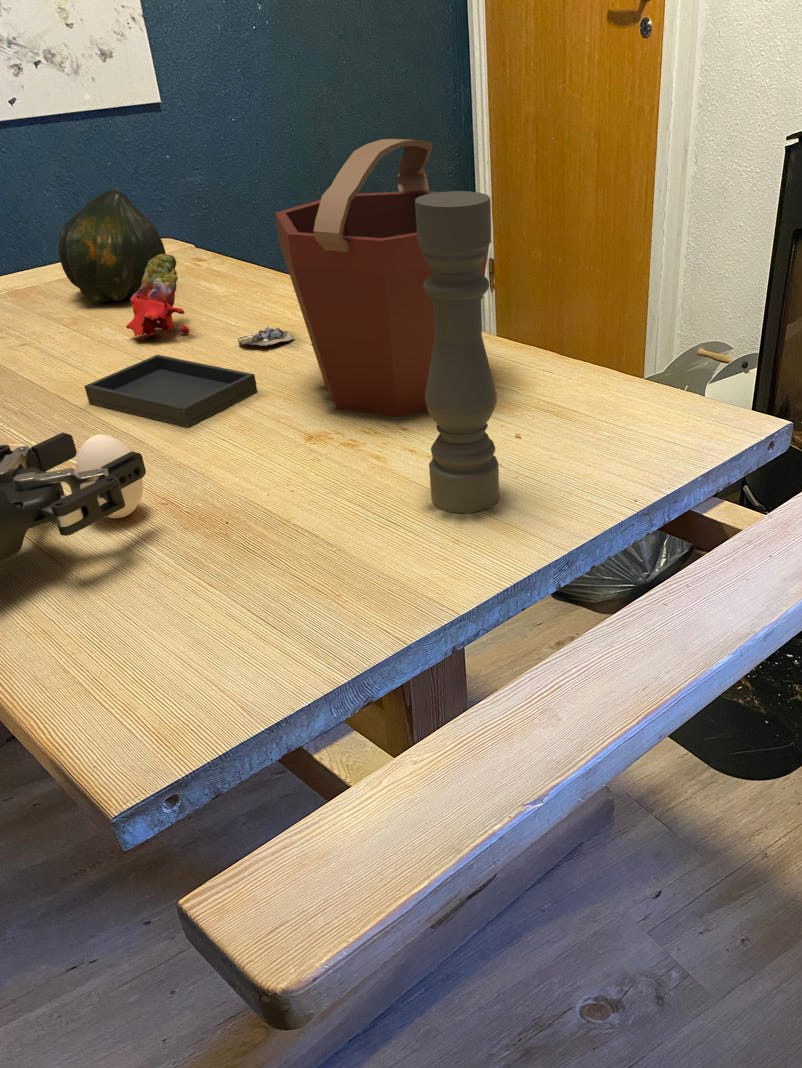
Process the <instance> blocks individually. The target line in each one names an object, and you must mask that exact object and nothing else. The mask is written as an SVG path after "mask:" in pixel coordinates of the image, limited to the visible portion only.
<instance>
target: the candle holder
mask: <svg viewBox="0 0 802 1068" xmlns="http://www.w3.org/2000/svg"><path fill="white" fill-rule="evenodd" d="M437 192H438V191H437ZM490 203H491V197H490V196H489V195H488V194H486V193H482V192H476V191H470V190H469V191H468V190H467V191H466V190H465V191H464V190H449V191H439V192H438V193H431V194H426V195H423V196H419V197H418V198H417V199H415V208H416V224H417V239H418V245H419V247H420V248H422V255H423V258H424V259H425V261H426V262H427V264H428V267H429V269H430V270H431V276H429V277H428V278H427V279H426V280H425V282H424V283H423V287H424V290H425V293H426V294H427V295H428V296H430V298H431V301H433V312H434V330H435V339H434V345H433V351H432V357H431V363H430V369H429V374H428V380H427V386H426V392H425V402H426V406H427V412H428V415H429V416H430V418H431V419H432V420H433V422H434V423H435V424H436V427H435V428H436V431H437V432H438V433H439V434H438V435H437V437H436V439H435V441H434V442H433V444H432V445H431V447H430V453H431V456H432V458H431V460H430V461H429V463H428V469H429V483H430V484H429V485H430V498H431V502H432V504H433V505H434V506H435V507H437V509H440V510H443V511H445V512H449V513H456V514H470V513H479V512H480V511H484V510H487V509H489V508H491V507H492V506H494V505H495V504H497V502H498V500H499V498H500V473H499V470H500V469H499V468H500V467H499V462H498V458H497V457H496V456H495V452H496V446H495V443H494V441H493V440H492V438H490V436H489V434H488V433H487V432H486V431H487V429H488V427H489V424H488V422H489V420H490V419H491V417H492V415H493V413H494V412H495V409H496V406H497V403H498V394H497V389H496V386H495V382H494V378H493V374H492V371H491V370H492V369H491V366H490V363H489V359H488V354H487V351H486V347H485V343H484V338H483V328H482V327H483V326H482V299H483V298H484V295H485V294H486V293H487V292H488V290H489V288H490V280H488V278H487V277H486V275H485V276H484V275H483V274H481V273H480V268H481V267H482V266H483V261H484V258H485V257H486V256H487V253H488V254H489V250H487V246H488V245H489V246H490V244H491V243H492V215H491V214H492V212H491V211H490Z"/></svg>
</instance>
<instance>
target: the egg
mask: <svg viewBox="0 0 802 1068" xmlns="http://www.w3.org/2000/svg"><path fill="white" fill-rule="evenodd" d="M129 452H130V450H129V449H128V448H127V447H126V446H125V445H124V444H123V443H122V442H121V441H120V440H118V439H116V438H115V437H113V436H110V435H106V434H95V435H92V436H90V437H88V438H87V439H86V440H85V441H84V442H83V444H82V445H81V446H80V449H79V451H78V453H77V457H76V463H75V470H76V471H77V472H84V471H89V470H94V469H100V468H101V467H102V466H104V465H106V464H108V463H110V462H112V461H114V460H116V459H118V458H120V457H122V456H124V455H125V454H127V453H129ZM93 483H95V481H93V482H88V483H83V484H81V485H80V486H81V489H82V488H84V487H86V486H89V485H91V484H93ZM121 491H122V494H123V498H124V501H125V507H124V508H122V509H120V510H118V511H116V512H114V513H112V514H110V515H108V516H106V517H105V518H109V519H122V518H125V517H127V516H129V515H131V514H132V513H133V512H134V511H135V510H136V509H137V507H138V505H139V504H140V502H141V499H142V497H143V492H144V481H143V478H141V479H139V480H137V481H135V482H133V483H132V484H130V485H128V486H126V487H124V488H122V489H121ZM104 503H106V502H103V503H99V505H102V504H104Z"/></svg>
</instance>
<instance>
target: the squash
mask: <svg viewBox="0 0 802 1068" xmlns="http://www.w3.org/2000/svg"><path fill="white" fill-rule="evenodd" d="M57 249H58V255H59V256H58V257H59V260H60V264H61V268H62V269H63V272H64V273H65V276H66V278H67V279H68V280H69V282H70V283H71V284H72V285H73V286H75V287H76V288H78V289H79V291H80V292H81V294H82V295H84V297H86V298H87V299H89V300H90V301H92V302H95V303H99V304H104V303H108V302H109V301H111V300H112V301H114V302H120V301H122V300H125V299H126V298H127V297H128V296H129V295H132V296H133V295H134V294H135V293H136V292H137V291H138V290H139V289H140V287H141V284H142V278H143V276H144V272H145V269H146V267H147V264H148V262H149V261H150V260H151V259H152V258H154V257H155V256H157V255H160V254H165V255H167V254H166V249H165V245H164V243H163V240H162V238H161V236H160V234H159V232H158V231H157V229H156V227H155V226H154V224H153V223H152V222H151V221H150V220H149V219H148V217H146V216H145V214H144V213H142V212H141V211H140V210H139V209H138V208H137V207H136V206H135V205H134V204H133V202H131V200H130V199H129V198H128V197H127V195H126V194H124V192H122V191H121V190H120V189H119V188H114V189H109V190H106V191H104V192H101V193H100V194H98V195H97V196H95V197H94V198H93V199H92V200H90V201H89V202H87V204H85V205H84V206H83V207H82V208H81V209H80V210H79V211H78V212H77V213H75V214H74V215H73V216H72V217H71V218H70V219H69V220H67V222H66V223H65V224H64V226H63V227H62V229H61V231H60V233H59V239H58V245H57Z"/></svg>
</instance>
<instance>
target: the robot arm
mask: <svg viewBox="0 0 802 1068" xmlns="http://www.w3.org/2000/svg"><path fill="white" fill-rule="evenodd" d="M77 455H78V451H77V447H76V444H75V441H74V438H73V436H72V434H69V433H66V432H61V433H58V434H56V435H54V436H52V437H50V438H47V439H45V440H43V441H41V442H38V443H36V444H35V445H32V446H28V445H21V446H18V447H16V448H15V449H14V450H12V449H11V446H10V445H8V444H0V564H1V563H3V562H4V561H6V560H9V559H10V558H12V557H13V556H16V555H17V554H18V553H19V552H20V551H21V549H22V548H23V544H24V540H25V536H26V535H27V532H28V530H30V529H31V528H35V527H38V526H42V525H45V524H48V523H52V524H55V525H56V526H57V530H58V532H59V534H60V536H64V537H65V536H66V537H67V536H71V535H74V534H75V533H77V532H79V531H82V530H84V529H85V528H87V527H89V526H92V525H94V524H95V523H96V522H99V521H100V520H102V519H104V518H107V517H106V516H108V515H110V514H112V513H114V512H116V511H118V510H120V509H122V508H124V507H125V501H124V498H123V494H122V491H121V489H122V488H124V487H126V486H128V485H130V484H132V483H133V482H135V481H137V480H139V479H141V478H142V479H143V478H144V477H145V476H146V473H147V470H146V466H145V462H144V458H143V455H142V454H141V453H140V452H136V451H129V453H127V454H125V455H124V456H122V457H120V458H118V459H116V460H114V461H112V462H110V463H108V464H106V465H104V466H102V467H101V468H100V469H94V470H89V471H84V472H77V471H76V468H73V467H68V468H65V469H64V468H63V469H58V470H52V469H54V468H55V467H58V466H60V465H62V464H65V463H66V462H68V461H71V460H72V459H74V458H76V456H77ZM50 470H52V471H50ZM93 481H95V483H93V484H91V485H89V486H86V487H84V488H82V489H81V486H80V485H81V484H83V483H88V482H93ZM62 483H65V484H67V485H68V486H69V489H70V492H71V493H70V494H68V495H67V494H66V493H65V491H64V488H63V484H62ZM103 502H106V503H104V504H102V505H99V503H103Z"/></svg>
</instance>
